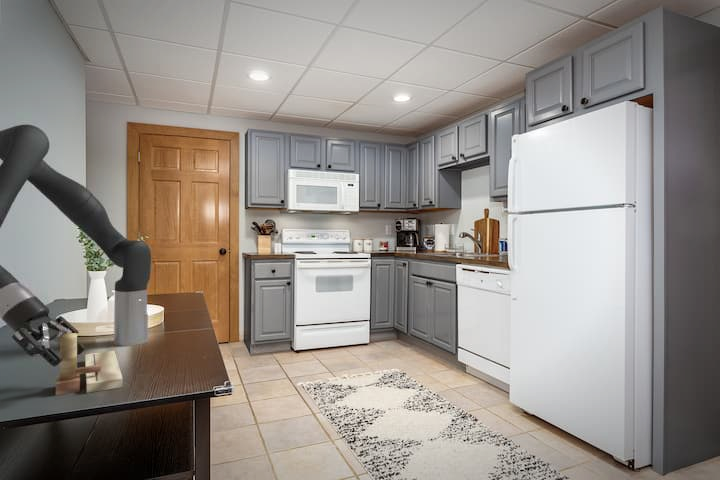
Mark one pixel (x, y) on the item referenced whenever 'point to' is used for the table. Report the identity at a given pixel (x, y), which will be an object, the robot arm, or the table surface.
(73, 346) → the marking gauge
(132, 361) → the table surface
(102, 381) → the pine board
